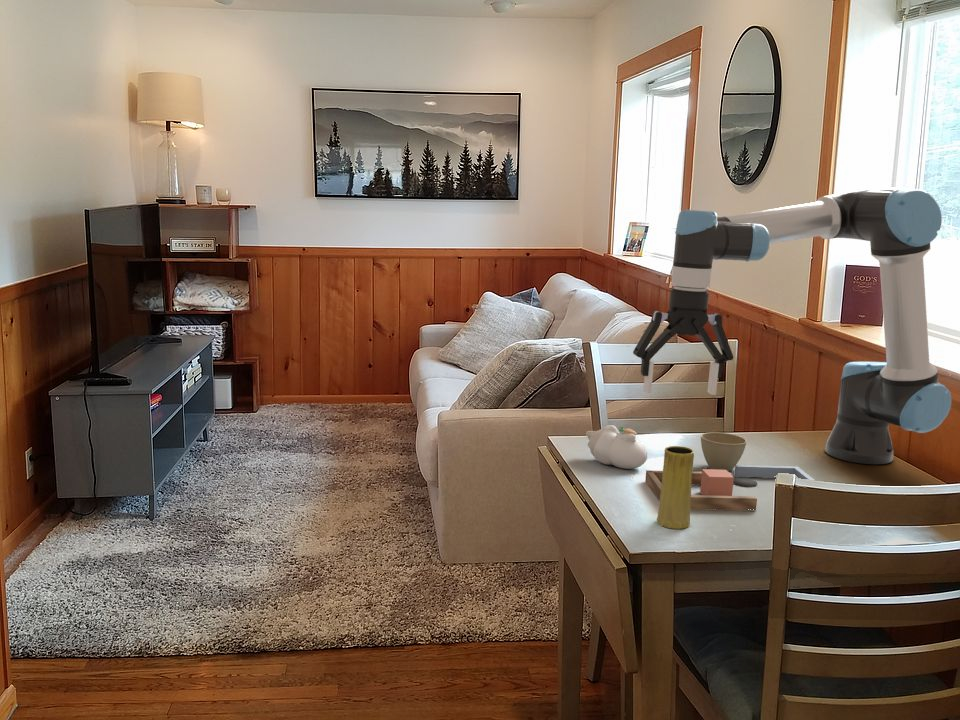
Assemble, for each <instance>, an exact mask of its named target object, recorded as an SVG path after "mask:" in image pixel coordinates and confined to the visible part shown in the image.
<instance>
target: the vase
mask: <svg viewBox="0 0 960 720" xmlns="http://www.w3.org/2000/svg"><path fill="white" fill-rule="evenodd" d="M663 456H664V457H663V466H662V471H663V476H662V485H661V494H660V502H659V501H658V511H657V517H656V523H657V524H658V525H659V526H661V527H664V528H667V529H673V530H683V529H687V528H689V527H690V525H691V509H690V506H691V495H692V485H691V481H692V472H693V469H694V459H695V458H694V457H695V452H694V450H693V449H692V448H690V447H687V446H686V447H685V446H678V445H672V446H671V445H670V446H667V447H665V448H664V455H663Z"/></svg>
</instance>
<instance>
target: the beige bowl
mask: <svg viewBox="0 0 960 720" xmlns="http://www.w3.org/2000/svg"><path fill="white" fill-rule="evenodd" d="M747 441H748V440H747V439H746V438H744V436H743V437H742V436H740V435H738V434H737V435H736V434H733V433H728V432H718V431H717V432H715V431H714V432H712V431H711V432H710V431H709V432H705V433H704V432H703V433H701V435H700V445H701V450H702V453H703V458H704V459H705V461H706V464H707V467H708V469H716V470H727V471H728V472H731V471H733V469H735V465H738V463H739V461H740V460H741V458H742V456H743V455H744V451H745V449H746V445H747Z"/></svg>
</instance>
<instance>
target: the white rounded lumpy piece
mask: <svg viewBox="0 0 960 720" xmlns="http://www.w3.org/2000/svg"><path fill="white" fill-rule="evenodd" d="M618 428H619V430H618ZM618 428H617V427H616V425H613V424H610V425H609V424H608V425H604V427H602V428H600V429H598V430H588V431H586V432H585V435H586V437H587V438H588V442H587V447H588V448H589V450H590V453H591V455H592V456H593V457H594V459H596V460H597V461H599V462H600V463H602V465H603V464H604V465H610V466H611V465H612V466H614V467H617V468H619V469H624V470H632V469H633V470H634V469H637V468H639V467H641V466H643V465H644V464H645V463H646V461H647V460H648V450H647V449H646V446H644V444H643V443H642V442H641V441H640V440H639V439H637V435H638V433H637V432H636V431H635V430H633V429H631V428H629V427H627V428H624V427H623V426H619V427H618Z"/></svg>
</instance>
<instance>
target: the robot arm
mask: <svg viewBox="0 0 960 720" xmlns="http://www.w3.org/2000/svg"><path fill="white" fill-rule="evenodd" d="M942 215H943V214H942V211H941V207H940V205H939V203H938V201H937V200H936V199H935V197H934V196H933V195H932V194H930V193H929V192H927V191H925V190H922V189H919V188H918V189H917V188H913V187H908V186H907V187H875V186H874V187H873V186H872V187H871V186H870V187H863V188H857V189H853V190H849V191H843V192H839V193H836V194H834V193H833V194H831V195H823V196H820V197H818V198H817V199H816V201H815V202H810V203H804V204H803V203H802V204H796V205H790V206H783V207H782V206H781V207H778V208H770V209H763V210H757V211H751V212H750V211H749V212H743V213H738V214H736V213H735V214H731V215H724V216H720V217H719V216H718V214H717V213H716V211H712V210H711V211H710V210H693V209H684V210H681V211H680V212H679V213H678V217H677V223H676V228H675V233H674V234H675V240H674V241H675V242H674V251H673V263H672V271H671V272H672V274H671V283H670V284H671V286H673V288H671V289H670V292H669V301H668V310H667V313H666V312H662V311H661V312H660V311H658V310H654V311H653V312H652V314H651V318H650V319H651V320H650V322H649V324H648V325H647V327H646V329H645V331H644V332H643V334H642V336H641V337H640V339H639V341H638V342H637V344H636V346H635V348H634V349H633V351H632V354H633V355H634V356H636V357H637V358H640V359H641V363H640V364H641V365H640V366H641V367H640V374H641V376H643V377H644V380H643V389H642V391H644V392H645V393H646V394H652V389H653V387H652V386H653V380H654V379H653V378H654V367H655V366H654V365H655V361H654V360H653V357H654V356H655V355H656V354H657V353H658V352H659V351H661V349H662V348H663V347H664V346H665V345H666V344H667V342H668V341H670V339H671V338H674V336H676V335H678V336H687V335H689V336H692V337H693V336H694V337H695V336H696V335H697V337H698V338H699V339H700V340H701V342H702V344H703V345H704V346H705V348H706V349H707V350H708V352H709V353H710V355H711V356H712V358H713V359H714V360H710V363H709V373H708V374H709V375H708V382H707V383H708V384H707V391H706V393H708V394H709V395H711V396H716V395H717V386H718V379H721V378H722V377H723V370H724V365H725V364H726V363H727V362H728V361H733V360H734V354H733V351H732V348H731V346H730V343H729V341H728V338H727V335H726V333H725V330H724V327H723V316H722V315H721V314H719V313H716V312H714V313H712V314H708V308H709V307H708V306H709V297H710V292H709V291H708V290H707V289H710V287H711V279H712V278H711V277H712V267H713V261H714V260H722V261H724V260H725V261H726V260H727V261H740V262H741V261H742V262H751V261H754V262H755V261H760V260H762V259H764V257H765V256H766V255H767V253H768V251H769V249H770V245H772V244H779V243H784V242H790V241H797V240H803V239H809V238H816V237H820V238H821V239H824V240H831V239H832V240H833V239H851V240H860V241H867V242H869V246H870V254H871V256H872V257H873V258H874V259H876V260H877V261H878V262H879V273H880V274H879V275H880V285H881V286H880V289H881V302H882V304H881V305H882V315H883V329H884V343H885V344H884V345H885V356H886V359H885V360H886V361H850V362H847V363H845V364H844V366H843V369H842V372H841V377H840V386H839V397H838V404H837V405H838V406H837V415H836V421H835V424H834V425H833V428H832V430H831V432H830V434H829V436H828V438H827V440H826V443H825V449H824V450H825V453H826V454H827V455H829V456H831V457H833V458H836V459H839V460H842V461H845V462H851V463H856V464H864V465H885V464H889V463H892V462H893V459H894V446H893V442H892V439H891V433H890V428H889V426H890V424H891V425H894V426H895V427H899V428H902V429H903V430H904V431H911V432H915V433H918V434H925V433H929V432H931V431H933V430H935V429H937V428H938V427H939V426H940V425H942V423H943V422H944V421H945V419H946V418H947V417H948V415H949V413H950V411H951V408H952V395H951V391H950V390H949V388H947V387H946V386H945V385H944V384H942V383H940V382H939V374H938V373H939V372H938V371H939V370H938V368H937V366H935V365H934V364H932V363H931V362H930V353H929V336H928V335H929V334H928V332H929V331H928V319H927V303H926V302H927V301H926V287H925V284H926V283H925V282H926V281H925V267H924V266H925V265H924V257H925V256H926V254H928V252H929V251H930V250H931V243H932V242H933V241H934V240H935V239H936V238H937V236H938V231H940V230H941V227H942ZM665 320H666V321H667V324H668V325H666V327H665V328H664V329H663V331H662V332H661V333H660V334H659V335H658V336H657V338H655V340H653V338H654V336H655V334H656V333H657V331H658V330H659V328H660V326H661V324H662V323H664V321H665ZM708 322H709V324H710V325H711V326H712V329H713V333H714V334H715V337H716V338H715V339H716V340H717V343H718V346H719V349H720V351H721V352H720V351H719V349H718V347H717V346H716V344H715V343H714V342H713V341H712V338H711V337H710V336H709V334H708V332H707V331H706V329H705V325H706V324H707V323H708ZM652 340H653V342H651V341H652ZM650 343H651V344H650Z"/></svg>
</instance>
